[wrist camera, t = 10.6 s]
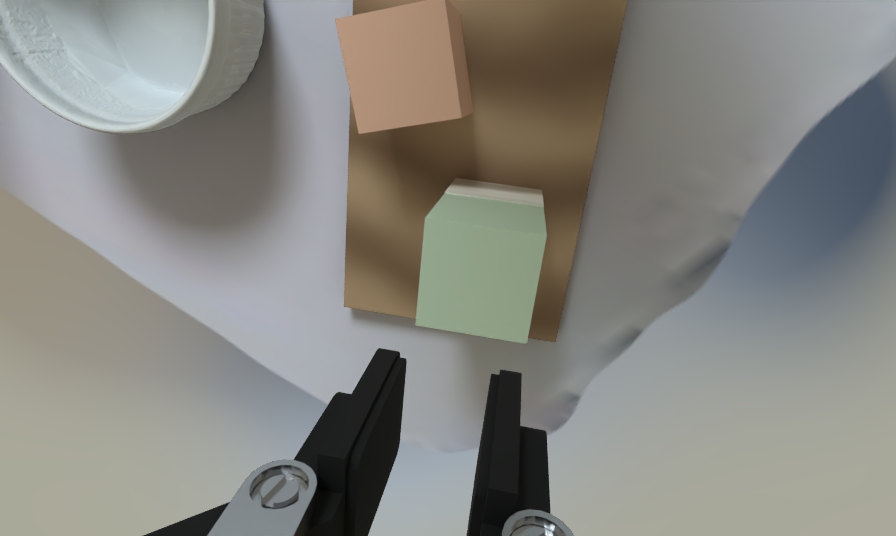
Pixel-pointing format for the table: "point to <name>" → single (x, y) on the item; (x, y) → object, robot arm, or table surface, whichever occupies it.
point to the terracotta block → (406, 65)
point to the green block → (481, 267)
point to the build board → (488, 147)
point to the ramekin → (130, 57)
